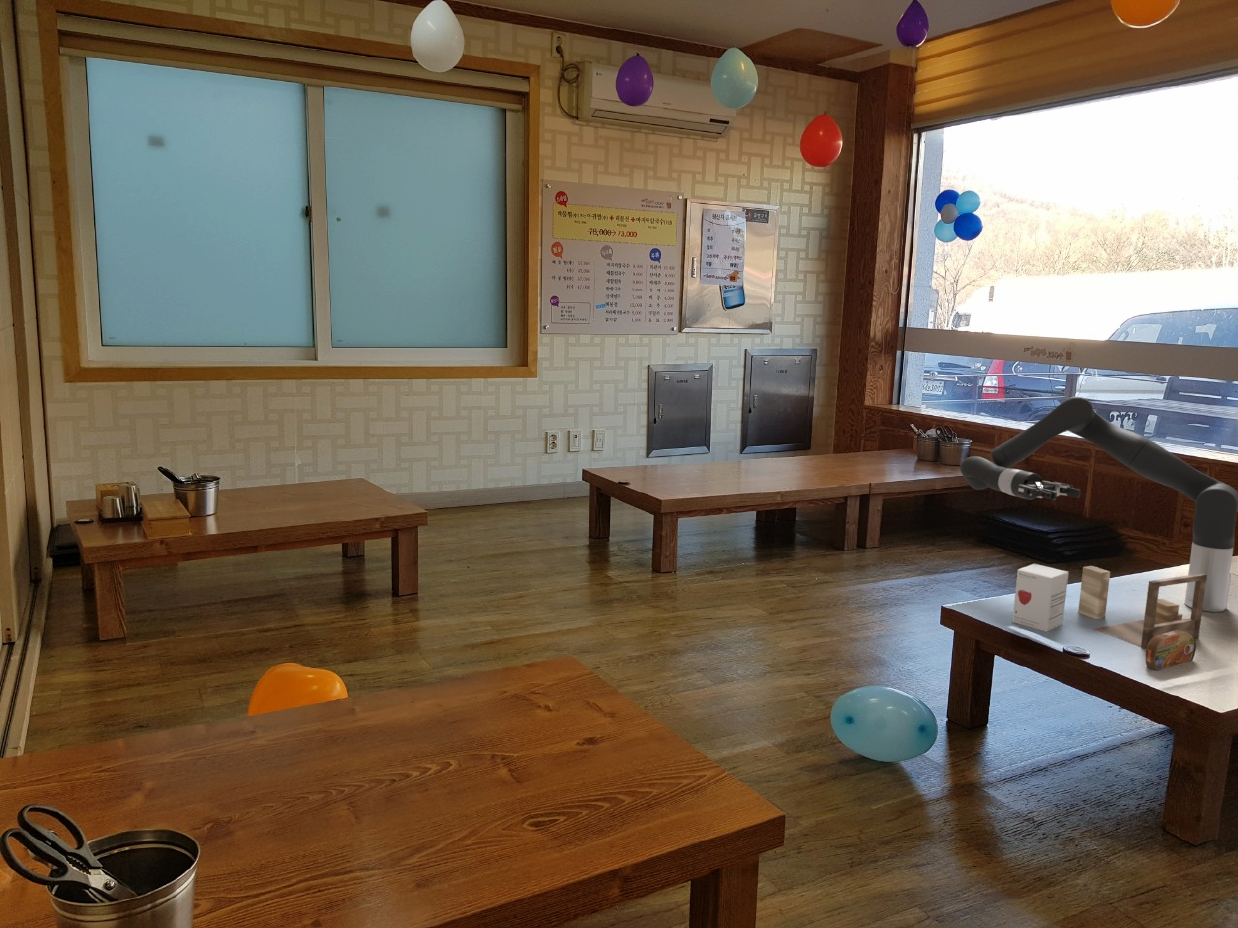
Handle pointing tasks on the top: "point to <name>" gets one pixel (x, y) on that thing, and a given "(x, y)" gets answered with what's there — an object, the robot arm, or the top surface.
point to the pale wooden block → (1094, 592)
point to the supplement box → (1040, 597)
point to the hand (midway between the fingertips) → (1067, 495)
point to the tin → (1170, 649)
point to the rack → (1146, 628)
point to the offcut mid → (1167, 618)
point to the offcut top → (1167, 607)
